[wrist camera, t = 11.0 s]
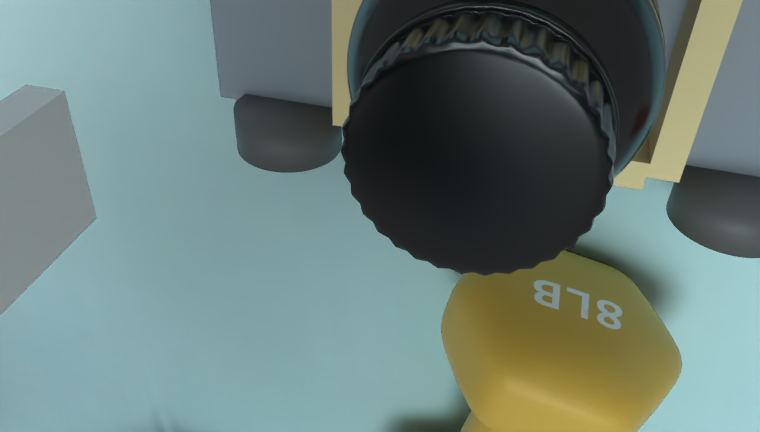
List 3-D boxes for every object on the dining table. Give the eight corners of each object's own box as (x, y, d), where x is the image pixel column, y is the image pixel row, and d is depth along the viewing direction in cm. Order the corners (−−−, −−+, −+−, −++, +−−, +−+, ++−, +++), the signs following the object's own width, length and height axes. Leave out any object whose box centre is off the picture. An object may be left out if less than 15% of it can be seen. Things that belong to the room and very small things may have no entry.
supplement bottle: (643, 75, 22) (662, 337, 13) (434, 80, 24) (321, 310, 15) (659, -166, 19) (702, -43, 9) (411, -136, 21) (239, -9, 11)
